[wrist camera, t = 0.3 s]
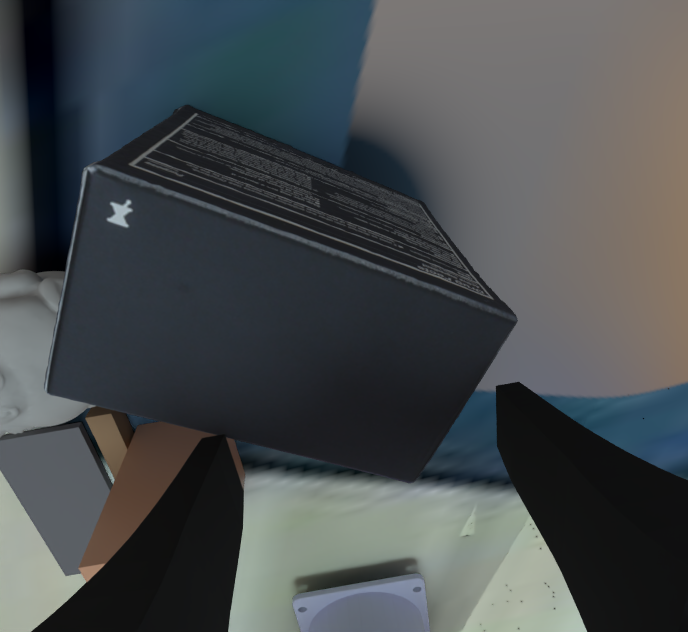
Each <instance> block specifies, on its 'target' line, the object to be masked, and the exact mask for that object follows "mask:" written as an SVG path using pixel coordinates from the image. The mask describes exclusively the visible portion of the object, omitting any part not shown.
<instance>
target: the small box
mask: <svg viewBox="0 0 688 632" xmlns="http://www.w3.org/2000/svg"><path fill="white" fill-rule="evenodd" d="M517 321H518V320H517V317H516V315H515V314H514V313H513V311H512V310H511V309H510V308H509V307H508V306H507V305H506V304H505V303H504V302H503V301H501V300H500V299H499V297H498V296H497V295H496V294H495V293H494V292H493V291H492V289H491V288H489V287H488V286H487V285H486V283H485V282H484V281H483V280H482V279H481V278H480V276H479V274H478V273H477V272H475V271H474V269H473V268H472V266H471V265H470V264H469V262H468V261H467V259H466V258H465V257H464V256H463V255H462V253H461V252H460V251H459V249H458V248H457V247H456V246H455V244H454V243H453V242H452V241H451V239H450V238H449V237H448V235H447V234H446V233H445V232H444V231H443V229H442V228H441V226H440V225H439V224H438V222H437V221H436V220H435V218H434V217H433V215H432V214H431V212H430V211H429V210H428V208H427V206H426V205H425V203H424V202H422V201H420V200H417V199H414V198H412V197H409V196H407V195H405V194H403V193H401V192H398V191H396V190H393V189H391V188H389V187H386V186H384V185H381V184H379V183H377V182H374V181H371V180H369V179H366V178H364V177H362V176H359V175H357V174H355V173H354V172H352V171H347V170H344V169H343V168H340V167H337V166H335V165H333V164H331V163H328V162H326V161H323V160H320V159H318V158H316V157H313V156H310V155H308V154H307V153H304V152H301V151H299V150H296V149H294V148H293V147H291V146H289V145H286V144H283V143H280V142H277V141H276V140H272V139H270V138H267V137H265V136H263V135H260V134H257V133H255V132H253V131H252V130H248V129H246V128H243V127H241V126H238V125H236V124H233V123H230V122H228V121H225V120H223V119H220V118H218V117H215V116H212V115H210V114H207V113H205V112H202V111H200V110H197V109H195V108H193V107H191V106H189V105H185V106H183V107H180V108H179V109H176V110H175V111H174V112H173V115H172V116H170V117H169V118H168V119H166V120H164V121H163V122H161V123H159V124H158V125H156V126H154V127H153V128H152V129H150V130H148V131H146V132H145V133H143V134H142V135H141V136H140V137H138V138H136V139H134V140H133V141H131V142H130V143H129V144H127V145H125V146H123V147H122V148H121V149H120V150H118V151H116V152H114V153H113V154H111V155H110V156H109V157H107V158H105V159H103V160H102V161H98V162H94V163H92V164H90V165H88V166H87V167H85V168H84V170H83V171H82V179H81V187H80V194H79V199H78V203H77V211H76V216H75V221H74V226H73V231H72V238H71V243H70V247H69V252H68V257H67V261H66V268H65V276H64V281H63V287H62V292H61V297H60V301H59V304H58V312H57V317H56V324H55V326H54V332H53V339H52V345H51V349H50V354H49V359H48V367H47V370H46V374H45V382H44V390H45V392H46V393H47V394H49V395H52V396H57V397H62V398H66V399H70V400H73V401H78V402H83V403H86V404H90V405H94V406H98V407H102V408H106V409H110V410H114V411H118V412H123V413H127V414H131V415H135V416H140V417H144V418H148V419H153V420H157V421H161V422H165V423H169V424H173V425H177V426H181V427H186V428H190V429H194V430H198V431H202V432H206V433H210V434H214V435H222V434H225V436H226V438H230V439H235V440H239V441H243V442H247V443H251V444H255V445H259V446H263V447H267V448H271V449H275V450H279V451H283V452H287V453H291V454H296V455H300V456H304V457H308V458H312V459H316V460H320V461H324V462H328V463H332V464H336V465H340V466H344V467H348V468H352V469H356V470H360V471H364V472H368V473H372V474H376V475H380V476H384V477H388V478H392V479H396V480H399V481H403V482H407V483H413V482H414V481H416V480H417V478H418V477H419V475H420V474H421V472H422V471H423V470H424V468H425V467H426V466H427V464H428V463H429V461H430V460H431V458H432V457H433V455H434V453H435V452H436V450H437V448H438V447H439V446H440V444H441V443H442V441H443V439H444V438H445V436H446V434H447V433H448V432H449V430H450V428H451V426H452V425H453V424H454V422H455V420H456V419H457V418H458V416H459V415H460V413H461V411H462V410H463V408H464V406H465V404H466V403H467V401H468V399H469V398H470V396H471V395H472V393H473V392H474V390H475V389H476V387H477V385H478V384H479V382H480V381H481V379H482V378H483V376H484V374H485V373H486V371H487V370H488V368H489V366H490V365H491V363H492V362H493V360H494V359H495V357H496V355H497V354H498V352H499V350H500V349H501V347H502V345H503V344H504V342H505V341H506V339H507V338H508V336H509V334H510V333H511V331H512V329H513V328H514V326H515V325H516V323H517Z"/></svg>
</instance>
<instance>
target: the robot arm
mask: <svg viewBox="0 0 688 632" xmlns="http://www.w3.org/2000/svg"><path fill="white" fill-rule="evenodd" d="M496 415H497V447H498V449H499V452H500V454H501V457H502V460H503V462H504V465H505V467H506V469H507V472H508V474H509V477H510V479H511V481H512V483H513V485H514V487H515V488H516V490H517V492H518V494H519V496H520V497H521V499H522V501H523V503H524V505H525V507H526V508H527V510H528V512H529V514H530V515H531V517H532V519H533V521H534V522H535V524H536V526H537V528H538V530H539V531H540V533H541V535H542V537H543V538H544V540H545V542H546V544H547V546H548V547H549V549H550V551H551V553H552V554H553V556H554V558H555V560H556V562H557V564H558V566H559V568H560V570H561V572H562V574H563V577H564V579H565V581H566V584H567V586H568V588H569V590H570V593H571V595H572V597H573V599H574V602H575V604H576V606H577V608H578V611H579V613H580V616H581V618H582V620H583V623H584V625H585V627H586V630H587V632H688V480H686V479H683V478H681V477H678V476H676V475H674V474H671V473H669V472H667V471H665V470H663V469H660V468H658V467H656V466H654V465H652V464H650V463H648V462H646V461H644V460H642V459H640V458H638V457H636V456H634V455H632V454H630V453H628V452H626V451H624V450H623V449H621V448H619V447H617V446H615V445H614V444H612V443H610V442H609V441H607V440H605V439H603V438H602V437H600V436H598V435H597V434H595V433H593V432H592V431H590V430H589V429H587V428H585V427H584V426H582V425H581V424H579V423H577V422H576V421H574V420H573V419H571V418H570V417H568V416H567V415H565V414H564V413H562V412H561V411H560V410H558V409H557V408H555V407H554V406H552V405H551V404H550V403H548V402H547V401H545V400H544V399H542V398H541V397H540V396H538V395H537V394H535V393H534V392H533V391H531V390H530V389H528V388H527V387H526V386H524V385H523V384H521V383H520V382H515V383H510V384H504V385H498V386H496ZM243 507H244V490H243V487H242V484H241V481H240V478H239V475H238V472H237V469H236V466H235V463H234V460H233V457H232V454H231V451H230V448H229V445H228V442H227V439H226V436H225V434H222V435H216V436H210V437H205V438H202V439H201V440H200V441H199V443H198V444H197V446H196V447H195V448H194V450H193V451H192V453H191V454H190V456H189V457H188V459H187V460H186V462H185V463H184V465H183V466H182V468H181V469H180V471H179V472H178V474H177V475H176V477H175V478H174V480H173V481H172V482H171V484H170V485H169V487H168V488H167V489H166V491H165V492H164V494H163V495H162V496H161V498H160V499H159V501H158V502H157V503H156V505H155V506H154V507H153V509H152V510H151V511H150V512H149V514H148V515H147V516H146V518H145V519H144V520H143V521H142V523H141V524H140V525H139V527H138V528H137V529H136V530H135V532H134V533H133V534H132V535H131V536H130V538H129V539H128V540H127V541H126V542H125V543H124V544H123V546H122V547H121V548H120V549H119V550H118V551H117V552H116V553H115V554H114V555H113V556H112V557H111V559H110V560H109V561H108V562H107V563H106V564H105V565H104V566H103V567H102V568H101V569H100V570H99V571H98V572H97V573H96V574H95V575H94V576H93V577H92V578H91V579H90V580H89V581H88V582H87V583H85V584H84V585H83V586H82V587H81V588H80V589H79V590H78V591H77V592H76V593H75V594H74V595H73V596H72V597H71V598H70V599H69V600H68V601H67V602H65V603H64V604H63V605H62V606H61V607H60V608H59V609H58V610H56V611H55V612H54V613H53V614H52V615H51V616H49V617H48V618H47V619H46V620H45V621H44V622H42V623H41V624H40V625H39V626H38V627H36V628H35V629H34V630H33V631H31V632H228V627H229V618H230V610H231V604H232V597H233V591H234V584H235V578H236V571H237V565H238V558H239V551H240V544H241V538H242V530H243ZM293 608H294V611H295V615H296V618H297V621H298V624H299V627H300V631H301V632H430V627H429V618H428V609H427V600H426V591H425V582H424V578H423V576H422V575H421V574H418V573H414V574H408V575H402V576H397V577H391V578H385V579H380V580H374V581H368V582H362V583H357V584H351V585H345V586H340V587H334V588H328V589H322V590H317V591H311V592H305V593H300V594H297V595H295V596H294V597H293Z"/></svg>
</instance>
